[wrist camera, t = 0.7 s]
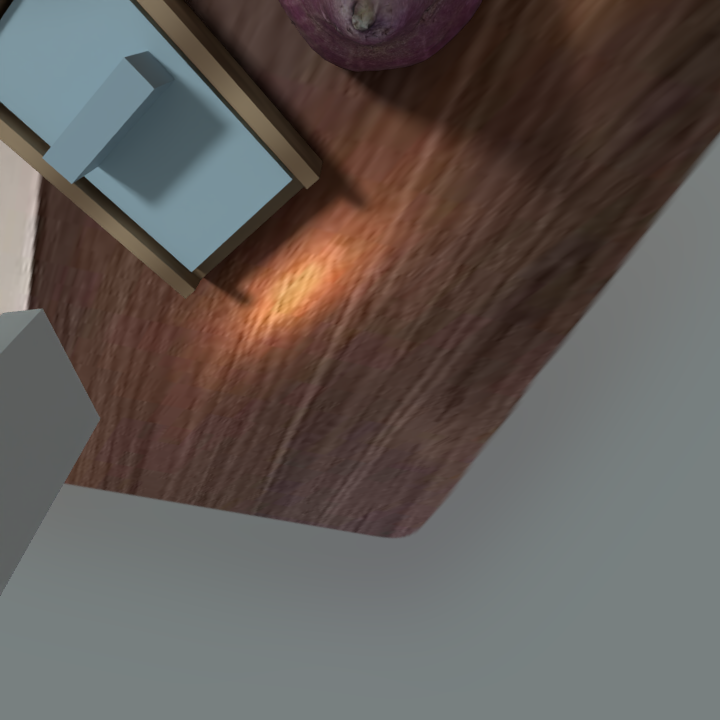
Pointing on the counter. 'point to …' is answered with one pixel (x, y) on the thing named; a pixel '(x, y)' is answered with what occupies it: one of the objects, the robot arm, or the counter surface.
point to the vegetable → (378, 29)
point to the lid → (135, 121)
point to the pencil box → (245, 99)
